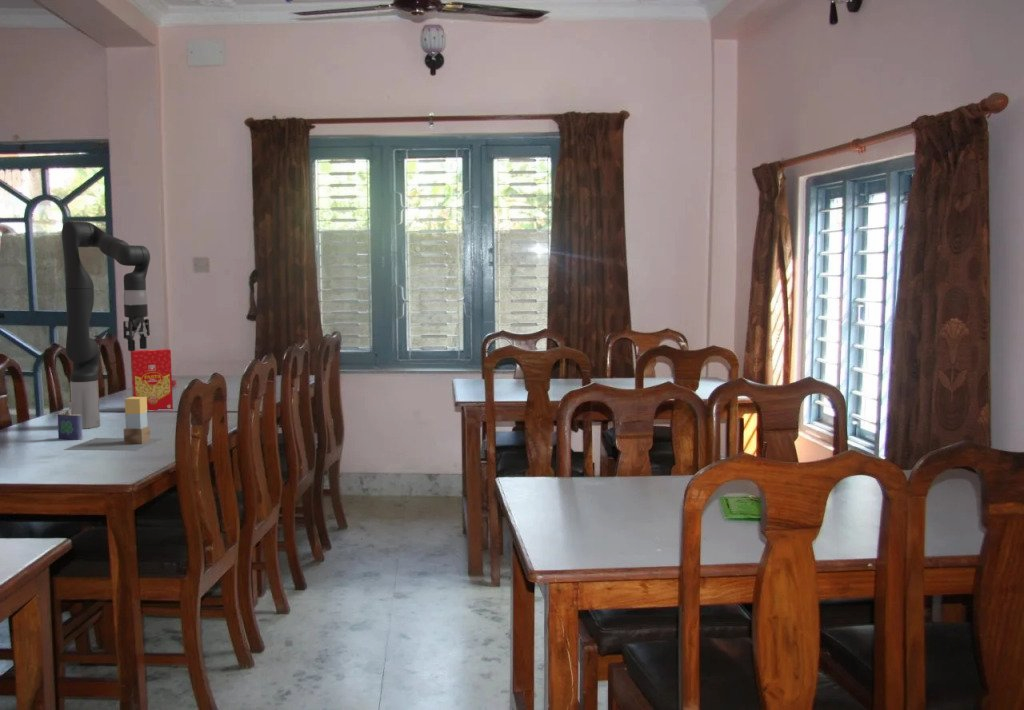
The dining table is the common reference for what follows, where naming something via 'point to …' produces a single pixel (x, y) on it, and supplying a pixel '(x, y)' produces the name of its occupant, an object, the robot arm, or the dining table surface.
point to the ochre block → (135, 405)
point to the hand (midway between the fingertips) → (137, 349)
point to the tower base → (137, 435)
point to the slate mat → (111, 444)
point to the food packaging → (152, 377)
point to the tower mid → (136, 421)
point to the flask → (69, 426)
